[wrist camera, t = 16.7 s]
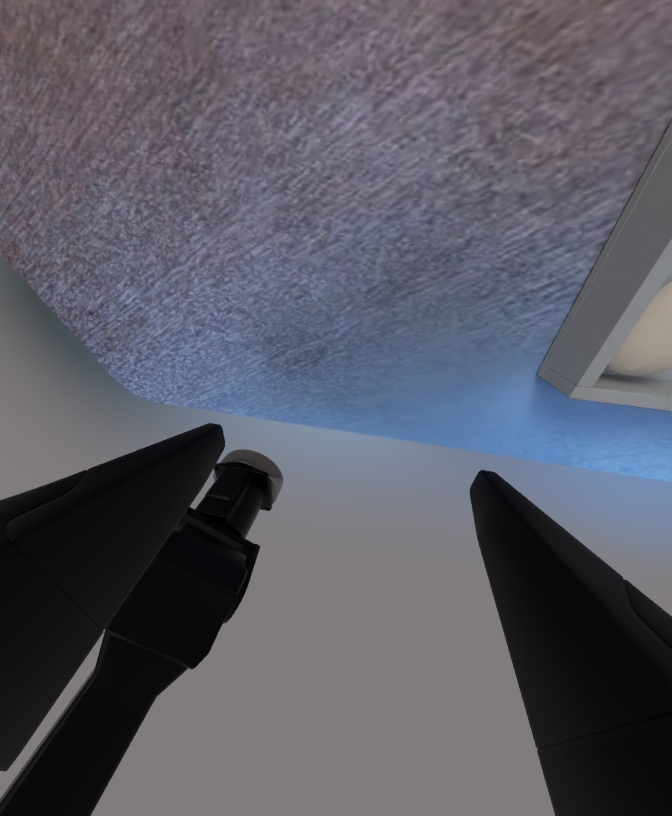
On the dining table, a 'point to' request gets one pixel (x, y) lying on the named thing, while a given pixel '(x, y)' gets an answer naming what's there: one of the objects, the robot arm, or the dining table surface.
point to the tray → (620, 299)
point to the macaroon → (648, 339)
